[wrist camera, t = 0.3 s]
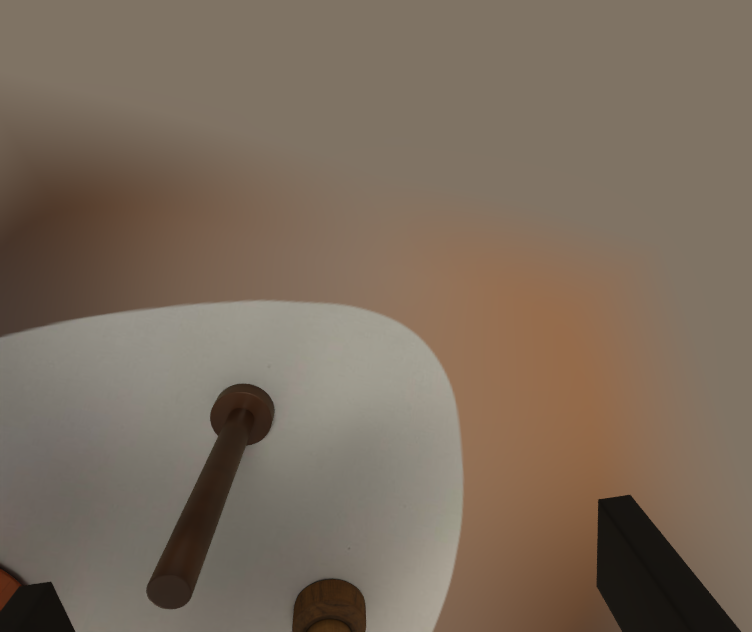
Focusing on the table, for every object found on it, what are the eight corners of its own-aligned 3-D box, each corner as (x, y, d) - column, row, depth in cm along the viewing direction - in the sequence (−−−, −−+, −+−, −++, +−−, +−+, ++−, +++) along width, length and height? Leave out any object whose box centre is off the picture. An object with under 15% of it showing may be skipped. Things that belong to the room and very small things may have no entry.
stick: (208, 388, 37) (101, 560, 21) (267, 379, 37) (206, 543, 21) (223, 440, 38) (133, 639, 22) (280, 430, 38) (231, 622, 22)
